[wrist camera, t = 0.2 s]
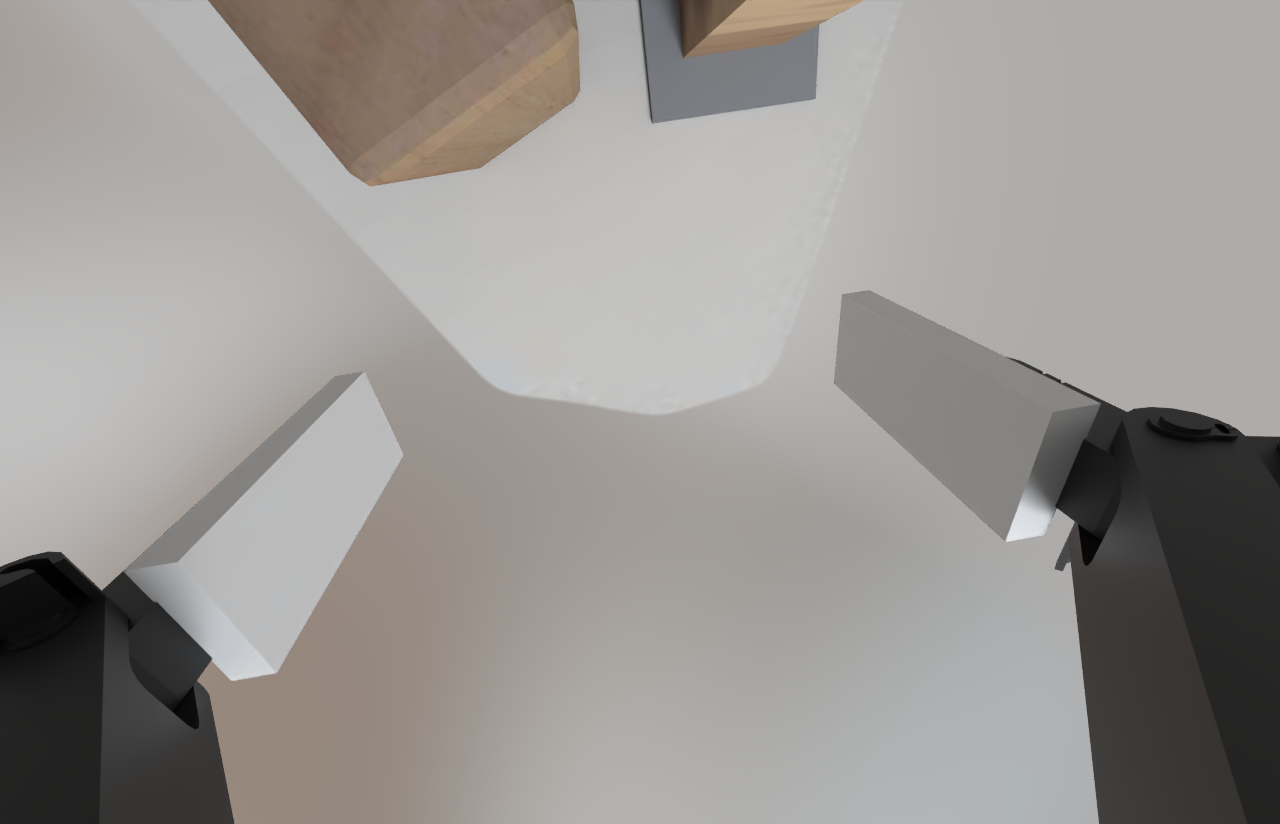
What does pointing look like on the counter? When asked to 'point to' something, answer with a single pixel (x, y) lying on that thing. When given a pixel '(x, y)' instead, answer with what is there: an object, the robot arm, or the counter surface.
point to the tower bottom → (701, 44)
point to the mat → (721, 70)
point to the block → (415, 75)
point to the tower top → (768, 13)
